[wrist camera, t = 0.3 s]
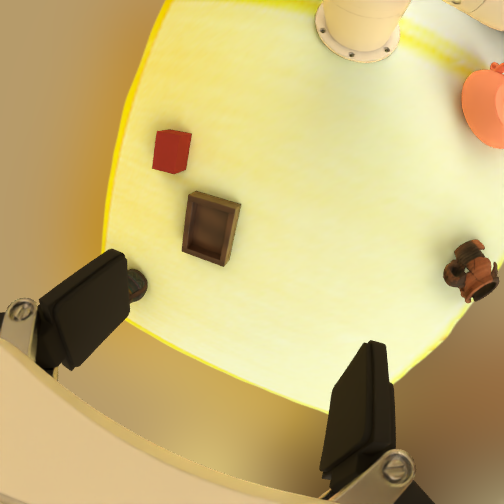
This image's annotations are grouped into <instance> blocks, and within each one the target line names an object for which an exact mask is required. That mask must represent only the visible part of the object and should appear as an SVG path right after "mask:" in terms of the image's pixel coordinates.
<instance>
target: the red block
mask: <svg viewBox="0 0 504 504" xmlns="http://www.w3.org/2000/svg"><path fill="white" fill-rule="evenodd" d="M191 136H192V134H191V133H186V132H180V131H175V130H163V131H157V134H156V141H155V149H154V157H153V166H152V169H156V170H160V171H164V172H168V173H171V174H176V173H179V172H181V171H184V170H186V166H187V160H188V154H189V147H190V141H191Z"/></svg>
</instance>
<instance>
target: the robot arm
mask: <svg viewBox="0 0 504 504" xmlns="http://www.w3.org/2000/svg"><path fill="white" fill-rule="evenodd" d="M442 1H444V2H446V3H448V4H450V5H451V6H453V7H455V8H457V9H459V10H460V11H462V12H464V13H466V14H467V15H469V16H471V17H472V18H474V19H476V20H477V21H479V22H481V23H483V24H484V25H486V26H488V27H491V28H493V29H495V30H499V31H504V0H442ZM410 2H411V0H322V3H321V5H320V6H319V8H318V10H317V12H316V18H315V23H316V29H317V32H318V34H319V36H320V38H321V40H322V41H323V43H324V44H325V45H326V46H327V47H328V48H329V49H330V50H331V51H333V52H334V53H335V54H337V55H339V56H341V57H343V58H345V59H348V60H351V61H355V62H360V63H370V62H377V61H380V60H383V59H384V58H386V57H388V56H389V55H390V54H391V53H392V52H393V51H394V50H395V49H396V47H397V45H398V43H399V39H400V28H399V24H398V23H399V21H400V19H401V18H402V16H403V14H404V13H405V11H406V9H407V8H408V6H409V4H410ZM322 31H324V33H322ZM385 50H387V51H388V52H385ZM350 54H351V55H353V57H350V56H349V55H350ZM39 302H40V305H38V306H37V305H36V302H35V301H34V300H32V299H30V298H20V299H17V300H15V301H14V302H12V303H11V304H10V305H9V306H8V308H7V310H6V312H3V313H0V504H435V503H434V502H433V501H432V500H431V499H430V498H429V497H428V496H427V495H426V493H425V492H424V491H423V490H422V489H421V488H420V487H419V486H418V485H417V483H416V482H415V481H414V480H413V479H414V477H415V473H416V465H415V462H414V459H413V458H412V457H411V456H410V454H408V453H407V452H405V451H403V450H400V449H396V433H395V431H396V427H395V402H394V388H393V384H392V383H390V382H389V374H388V362H387V351H386V345H385V344H383V343H379V342H376V341H372V340H370V341H369V342H368V343H363V344H362V346H361V347H360V349H359V351H358V352H357V354H356V355H355V357H354V358H353V360H352V361H351V363H350V364H349V366H348V367H347V369H346V370H345V372H344V373H343V375H342V376H341V377H340V379H339V380H338V382H337V383H336V385H335V386H334V388H333V390H332V394H331V401H330V409H329V415H328V422H327V428H326V435H325V440H324V446H323V452H322V457H321V462H320V471H323V475H322V479H328V480H331V481H330V488H331V489H329V490H328V491H327V492H325V493H324V494H323V495H321V496H320V497H318V498H313V497H309V496H304V495H299V494H295V493H290V492H286V491H282V490H278V489H273V488H270V487H267V486H263V485H259V484H256V483H253V482H249V481H246V480H243V479H239V478H236V477H233V476H230V475H227V474H225V473H222V472H219V471H216V470H213V469H211V468H208V467H206V466H203V465H201V464H198V463H196V462H193V461H191V460H189V459H186V458H184V457H182V456H179V455H177V454H175V453H173V452H171V451H169V450H166V449H164V448H162V447H160V446H158V445H156V444H154V443H152V442H150V441H149V440H146V439H145V438H143V437H141V436H139V435H137V434H136V433H134V432H132V431H130V430H128V429H127V428H125V427H123V426H122V425H120V424H118V423H117V422H115V421H113V420H112V419H110V418H109V417H107V416H105V415H104V414H102V413H101V412H99V411H98V410H96V409H95V408H93V407H92V406H90V405H89V404H87V403H86V402H84V401H83V400H82V399H80V398H79V397H77V396H76V395H75V394H73V393H72V392H71V391H69V390H68V389H67V388H65V387H64V386H63V385H61V384H60V383H59V382H58V366H59V364H60V363H61V362H62V364H63V365H64V366H65V367H66V368H68V369H69V370H71V371H72V370H73V369H74V368H75V367H78V366H80V365H81V364H82V363H83V362H84V361H85V360H86V359H87V358H88V357H89V356H90V355H91V354H92V353H93V352H94V350H95V349H96V348H97V347H98V346H99V345H100V344H101V343H102V342H103V341H104V340H105V339H106V338H107V337H108V336H109V335H110V334H111V333H112V332H113V331H114V330H115V329H116V328H117V327H118V326H119V325H120V323H122V322H123V321H124V320H125V319H126V318H127V316H128V315H129V312H130V302H129V288H128V270H127V259H126V258H125V255H124V254H123V253H121V252H119V251H117V250H114V249H109V250H107V251H106V252H104V253H103V254H101V255H100V256H98V257H97V258H96V259H94V260H93V261H91V262H90V263H89V264H87V265H85V266H84V267H83V268H81V269H80V270H78V271H77V272H75V273H74V274H73V275H71V276H70V277H68V278H67V279H66V280H64V281H63V282H62V283H60V284H59V285H57V286H56V287H55V288H53V289H52V290H51V291H50V292H48V293H47V294H45V295H44V296H43V297H41V298H40V299H39Z"/></svg>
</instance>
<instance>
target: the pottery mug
mask: <svg viewBox="0 0 504 504" xmlns="http://www.w3.org/2000/svg"><path fill="white" fill-rule="evenodd" d="M484 249H485V247H484V245H483V244H482V243H481V242H480V241H479V240H471V241H468V242H465V243H464V244H462V245H460V246H459V247H458V248H457V249H456V250H455V251H454V253H455V255H456V260H452V261H451V263H449V264H448V265H446V267H445V269H444V272H443V277H444V280H445V282H446V283H447V284H448V285H449V286H452V287H458V288H459V289H460V292H461V296H462V297H464V298H465V302H466V303H470V302H471V299H470V298H471V297H473V299H474V301H475V302H476V301H478V300H480V299H482V298H484V297H485V296H487V295H488V294H489V293H491V292H492V291H493V290H494V289H495V288H496V287H497V285H498V284H499V277H497V272H498V270H497V264H496V263H495V262H494V263H493V265H494V267H493V270H492V272H491V262H490V260H489V259H488V258H485V256H484V254H483V253H482V252H481V251H480V250H484ZM465 267H466V268H467V269H468V270H469V272H467V273H465V272H464V270H465Z"/></svg>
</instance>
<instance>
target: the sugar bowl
mask: <svg viewBox="0 0 504 504" xmlns="http://www.w3.org/2000/svg"><path fill="white" fill-rule="evenodd" d="M503 72H504V63H501V64H500V65H499V64H498V63H496V62H493V63H492V64H491V66H490V70H478V71H475V72H473V73H472V74H470V75H469V76H468V78H467V79H466V81H465V83H464V85H463V89H462V108H463V113H464V116H465V119H466V121H467V123H468V125H469V127H470V129H471V130H472V132H473V133H474V134H475V135H476V136H477V138H478V139H480V140H481V141H482V142H483V143H485V144H486V145H488V146H490V147H493V148H499V149H504V75H503V74H502V73H503Z"/></svg>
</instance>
